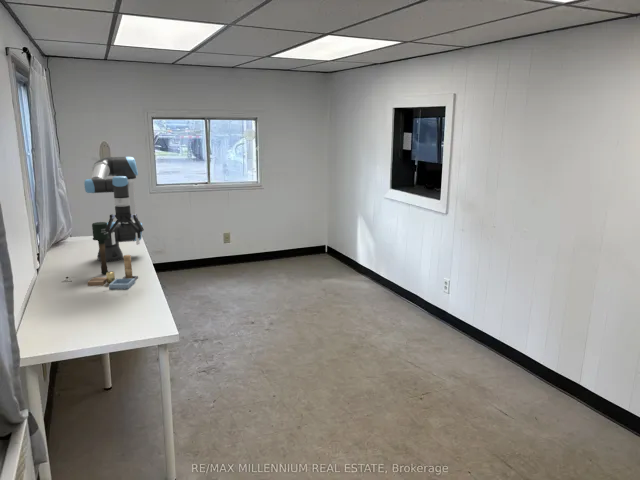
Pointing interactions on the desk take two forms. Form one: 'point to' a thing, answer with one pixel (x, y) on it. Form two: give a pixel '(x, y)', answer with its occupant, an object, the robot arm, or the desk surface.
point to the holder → (133, 277)
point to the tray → (121, 283)
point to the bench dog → (110, 277)
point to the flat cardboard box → (97, 281)
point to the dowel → (128, 266)
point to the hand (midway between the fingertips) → (126, 244)
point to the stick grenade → (101, 242)
